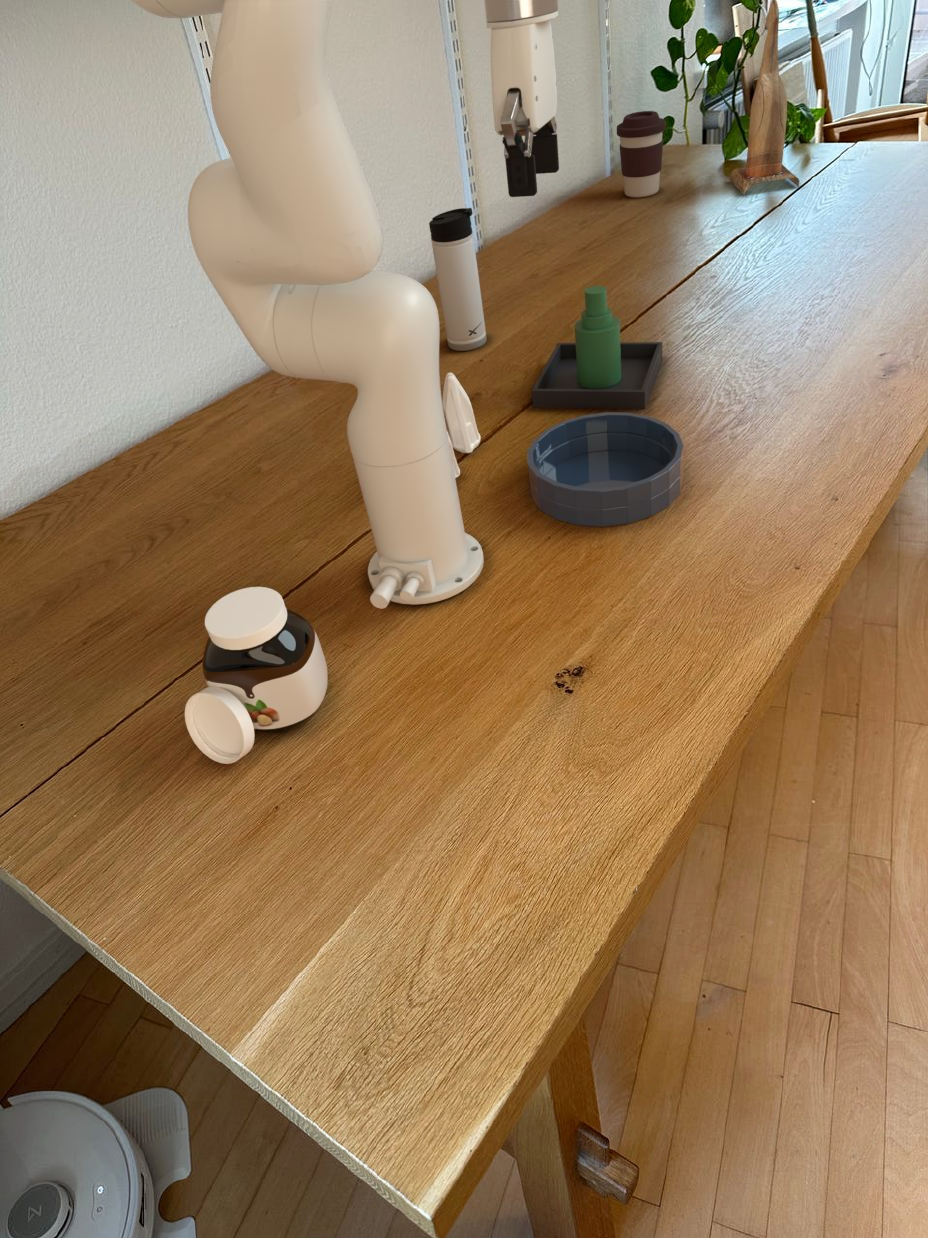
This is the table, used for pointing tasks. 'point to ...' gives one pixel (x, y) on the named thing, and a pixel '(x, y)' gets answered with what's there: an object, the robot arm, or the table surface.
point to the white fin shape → (459, 419)
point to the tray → (629, 393)
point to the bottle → (597, 342)
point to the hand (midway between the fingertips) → (534, 183)
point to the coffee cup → (641, 152)
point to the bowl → (606, 469)
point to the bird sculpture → (766, 118)
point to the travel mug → (458, 279)
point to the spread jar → (254, 674)
